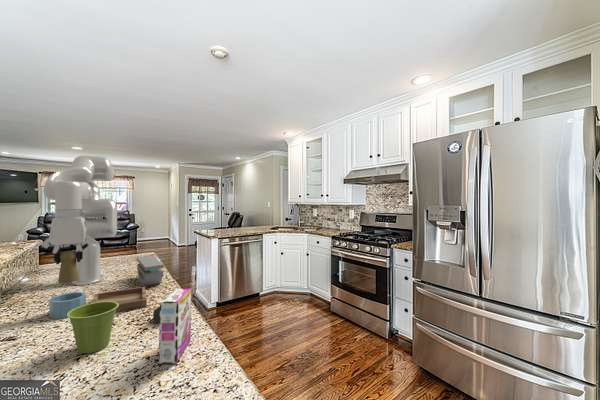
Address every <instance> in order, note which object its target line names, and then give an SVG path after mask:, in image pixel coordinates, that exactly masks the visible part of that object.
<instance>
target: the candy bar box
mask: <svg viewBox="0 0 600 400" xmlns="http://www.w3.org/2000/svg"><path fill="white" fill-rule="evenodd" d="M159 307H160V324H159V335H158V336H159V340H158V342H159V343H158V364H159V365H174V364H175V365H176V364H178V362H179V360H180V358H181V357H182V355H183V354H184V353H185V350H186V349H187V347H188V345H189V344H190V343H191V329H192V328H191V324H192V323H191V318H192V314H191V313H192V288H174V290H173V291H172V292H170V293H169V294H168V295H167V296H166V297H165V298H164V299H163V300H161V301H160V302H159Z"/></svg>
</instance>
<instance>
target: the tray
mask: <svg viewBox="0 0 600 400" xmlns="http://www.w3.org/2000/svg"><path fill="white" fill-rule="evenodd" d="M146 291H147V290H146V286H144V287H142V286H140V287H139V286H138V287H132V288H125V289H124V288H123V289H119V290H112V291H105V292H98V293H94V295H93V298H92V301H91V303H96V302H103V301H113V302H117V303H118V304H119V306H118V307H117V308H116V313H115V314H118V313H123V312H127V311H129V312H130V311H132V310H138V309H143V308H147V292H146Z"/></svg>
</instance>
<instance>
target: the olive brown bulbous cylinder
mask: <svg viewBox="0 0 600 400" xmlns="http://www.w3.org/2000/svg"><path fill="white" fill-rule="evenodd" d="M59 258H60V260H61V262H60V267H59V273H58V279H57V283H58V284H68V283H69V284H70V283H72V282H74V281H77V280H79V274H78V269H77V263H76V259H77V252H76V250H66V251H63V252H61V254H60V256H59Z"/></svg>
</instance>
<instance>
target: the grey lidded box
mask: <svg viewBox="0 0 600 400" xmlns="http://www.w3.org/2000/svg"><path fill="white" fill-rule="evenodd" d="M136 261H137V264H136V269H137V276H138V282H139V281H140V282H139V283H140V285H141V287H142V286H144V287H149V286H154V284H155V285H158V284H159V285H160V284H161V283H162V280H163V276H164V270H163V269H164V265H165V264H163V262H161V261H160V260H159V259H158V258H157V257H156V256H155V255H148V256H146V255H145V256H140V257H139V256H138V257H136ZM148 285H149V286H148Z"/></svg>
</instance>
